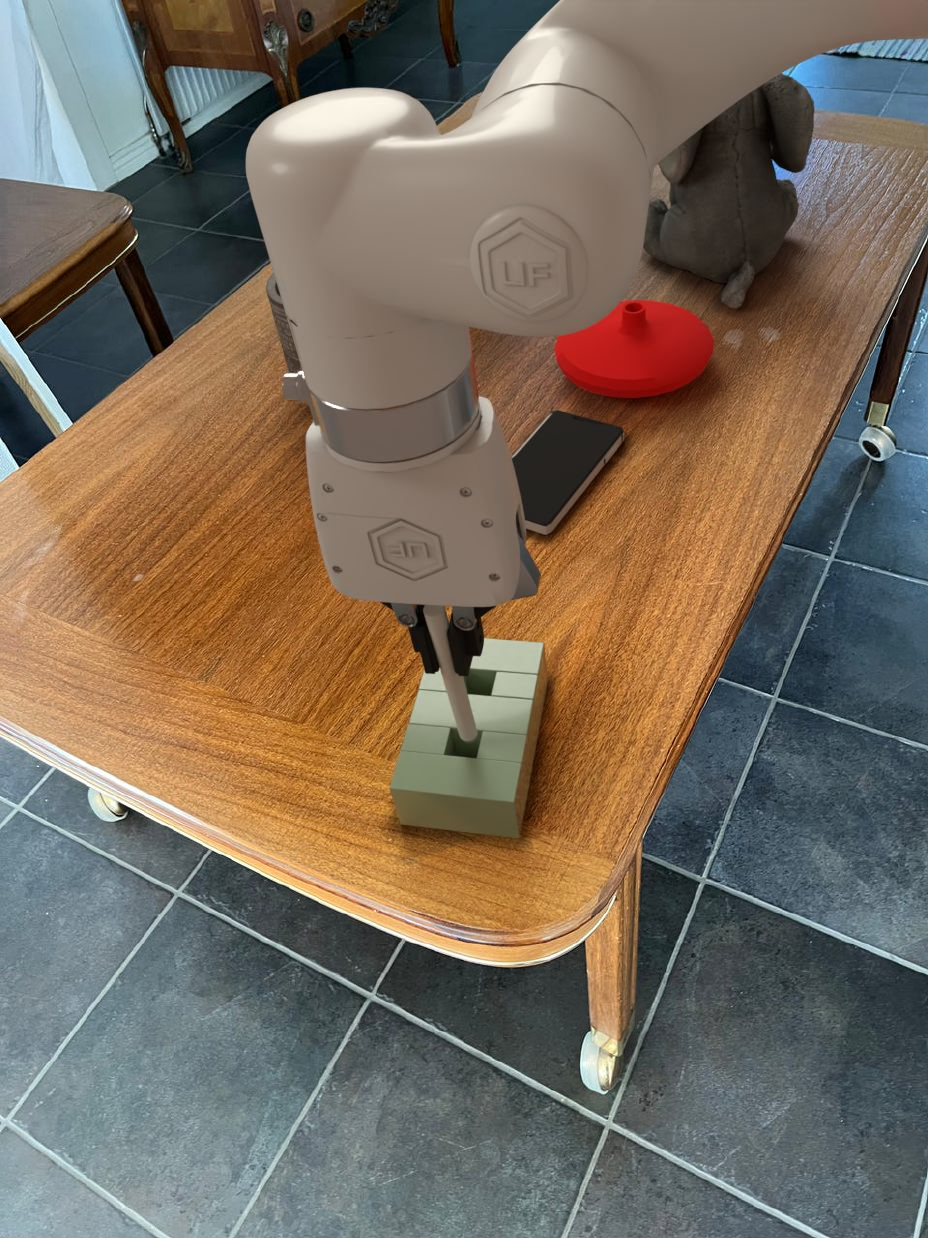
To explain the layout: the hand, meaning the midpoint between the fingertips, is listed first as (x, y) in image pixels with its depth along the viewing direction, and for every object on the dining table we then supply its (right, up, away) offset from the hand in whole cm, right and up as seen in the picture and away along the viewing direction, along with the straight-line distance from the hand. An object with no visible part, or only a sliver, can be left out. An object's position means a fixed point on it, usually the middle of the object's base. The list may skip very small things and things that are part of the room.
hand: (452, 655), depth 57 cm
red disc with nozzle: (+18, +28, +41) cm, 53 cm away
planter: (-11, +27, +45) cm, 53 cm away
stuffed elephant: (+31, +45, +55) cm, 77 cm away
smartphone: (+9, +15, +32) cm, 36 cm away
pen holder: (+2, -7, +12) cm, 14 cm away
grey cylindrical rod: (+1, -6, +6) cm, 9 cm away
